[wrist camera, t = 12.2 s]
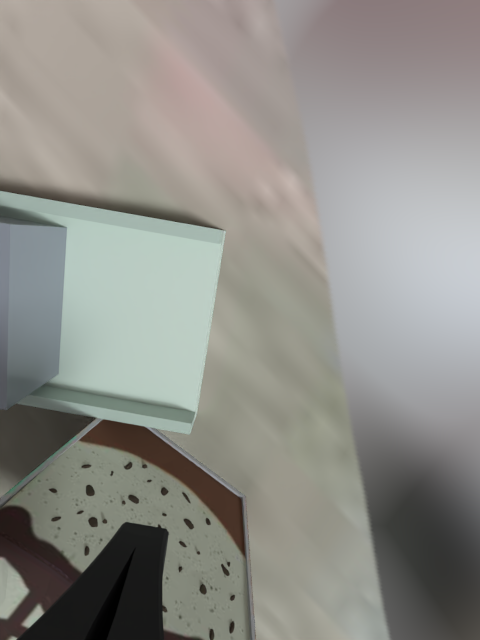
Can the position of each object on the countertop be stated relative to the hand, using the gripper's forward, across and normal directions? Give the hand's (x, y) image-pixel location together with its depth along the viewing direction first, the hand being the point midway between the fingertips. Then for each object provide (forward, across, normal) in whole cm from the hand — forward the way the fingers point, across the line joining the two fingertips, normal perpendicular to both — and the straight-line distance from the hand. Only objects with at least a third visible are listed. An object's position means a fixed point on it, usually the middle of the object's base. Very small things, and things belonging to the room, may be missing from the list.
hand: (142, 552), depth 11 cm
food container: (+10, +2, +5) cm, 11 cm away
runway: (+9, +10, -5) cm, 14 cm away
